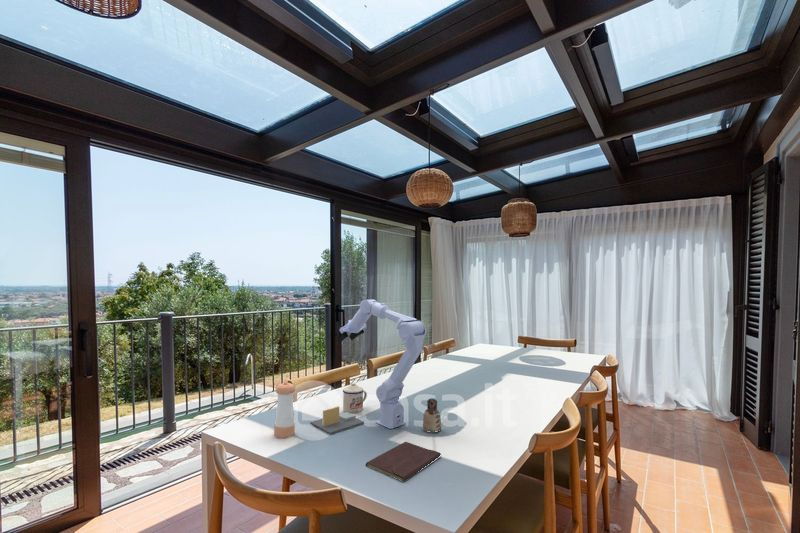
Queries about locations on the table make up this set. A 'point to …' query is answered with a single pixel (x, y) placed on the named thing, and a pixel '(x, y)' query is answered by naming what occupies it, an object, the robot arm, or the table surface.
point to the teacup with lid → (353, 398)
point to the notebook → (403, 460)
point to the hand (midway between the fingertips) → (344, 339)
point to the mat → (337, 425)
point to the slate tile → (346, 416)
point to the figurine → (431, 417)
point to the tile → (330, 416)
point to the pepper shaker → (284, 411)
